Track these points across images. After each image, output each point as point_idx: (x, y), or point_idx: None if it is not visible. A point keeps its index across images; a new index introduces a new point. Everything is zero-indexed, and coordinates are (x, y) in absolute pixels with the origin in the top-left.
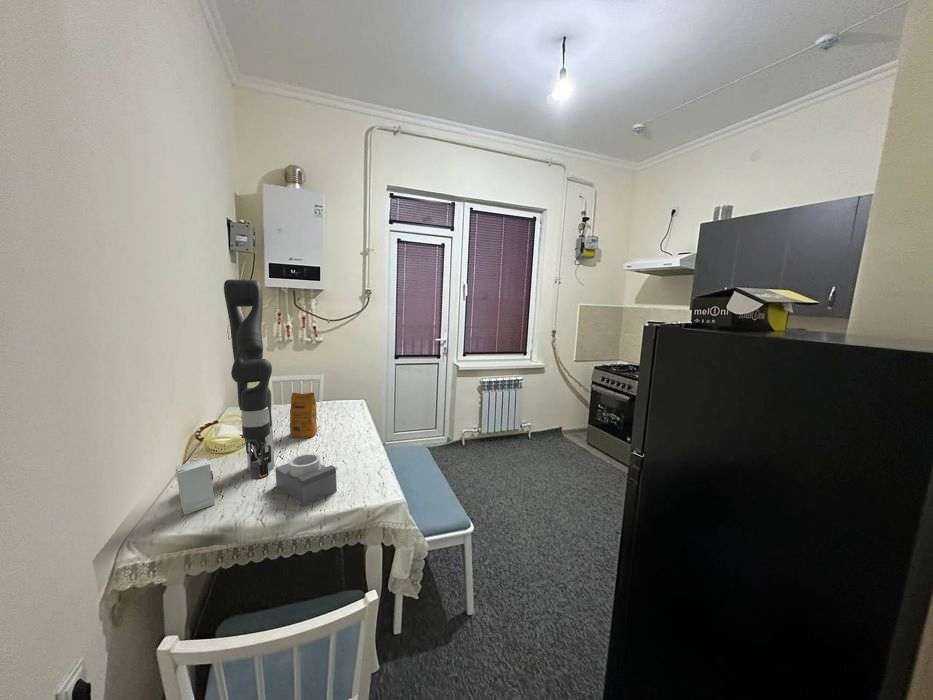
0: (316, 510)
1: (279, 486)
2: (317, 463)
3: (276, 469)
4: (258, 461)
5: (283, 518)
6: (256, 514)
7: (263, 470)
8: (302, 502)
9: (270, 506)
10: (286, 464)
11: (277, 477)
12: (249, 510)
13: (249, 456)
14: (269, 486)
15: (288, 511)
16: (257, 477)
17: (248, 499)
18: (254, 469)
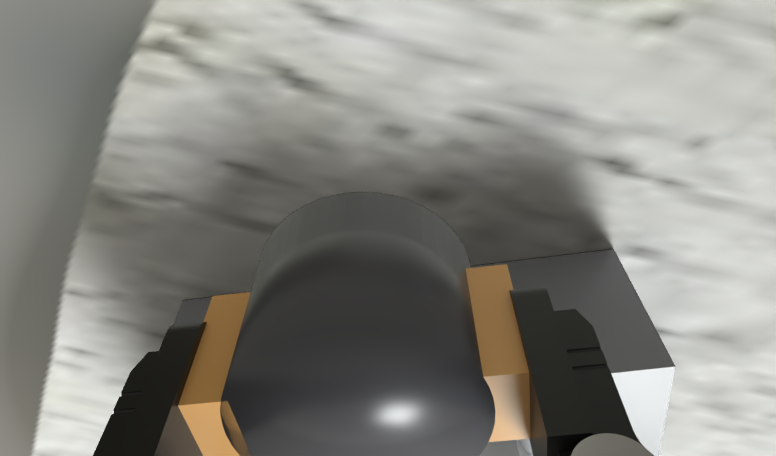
0: (91, 336)
1: (560, 263)
2: None
3: (648, 359)
4: (469, 435)
5: (96, 174)
6: (274, 36)
7: (121, 411)
8: (190, 315)
9: (329, 146)
10: (650, 432)
11: (609, 306)
12: (381, 3)
13: (607, 449)
14: (648, 210)
15: (175, 220)
16: (260, 264)
17: (580, 37)
18: (250, 336)
